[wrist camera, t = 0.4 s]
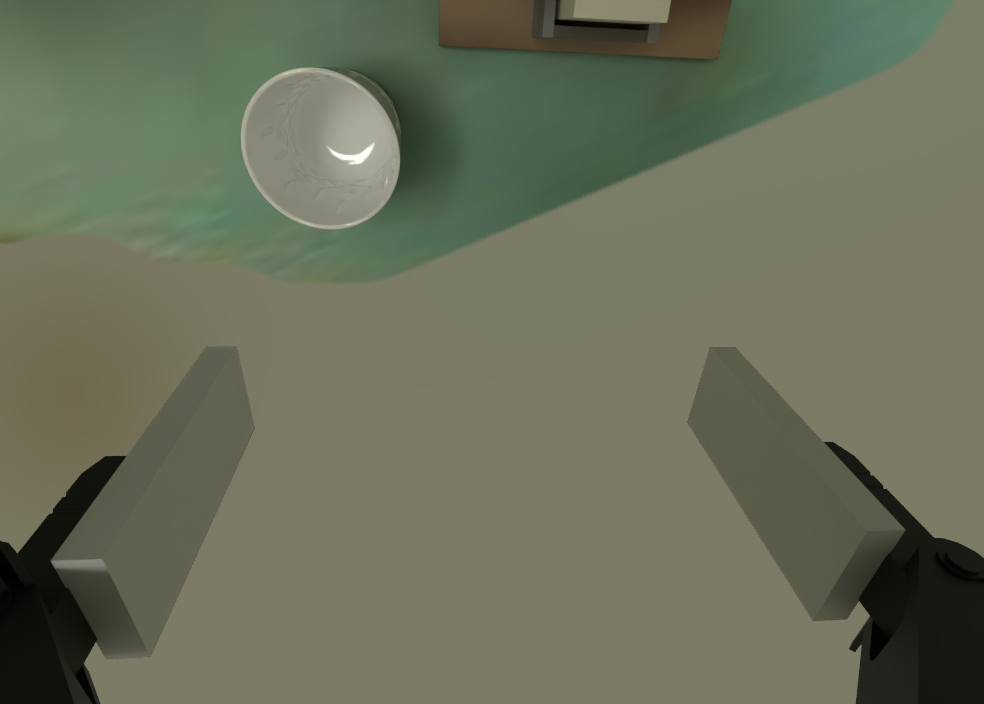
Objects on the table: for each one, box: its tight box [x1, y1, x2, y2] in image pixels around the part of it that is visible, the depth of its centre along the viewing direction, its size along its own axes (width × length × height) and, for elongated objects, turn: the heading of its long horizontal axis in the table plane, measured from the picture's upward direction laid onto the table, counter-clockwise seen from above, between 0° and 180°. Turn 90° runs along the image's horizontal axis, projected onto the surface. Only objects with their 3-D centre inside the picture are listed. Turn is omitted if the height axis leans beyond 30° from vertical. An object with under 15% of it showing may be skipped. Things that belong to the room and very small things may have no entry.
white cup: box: [241, 67, 401, 229], centre depth 32 cm, size 8×8×10 cm
